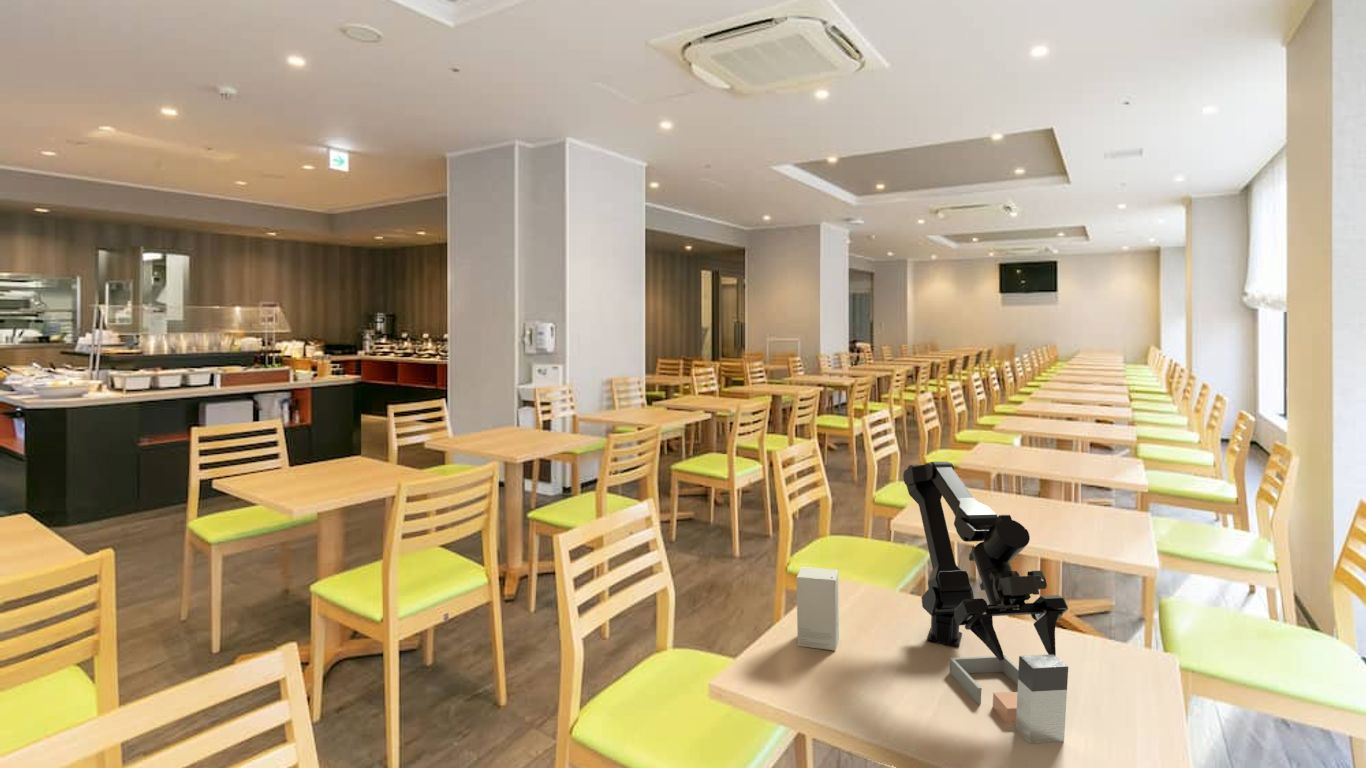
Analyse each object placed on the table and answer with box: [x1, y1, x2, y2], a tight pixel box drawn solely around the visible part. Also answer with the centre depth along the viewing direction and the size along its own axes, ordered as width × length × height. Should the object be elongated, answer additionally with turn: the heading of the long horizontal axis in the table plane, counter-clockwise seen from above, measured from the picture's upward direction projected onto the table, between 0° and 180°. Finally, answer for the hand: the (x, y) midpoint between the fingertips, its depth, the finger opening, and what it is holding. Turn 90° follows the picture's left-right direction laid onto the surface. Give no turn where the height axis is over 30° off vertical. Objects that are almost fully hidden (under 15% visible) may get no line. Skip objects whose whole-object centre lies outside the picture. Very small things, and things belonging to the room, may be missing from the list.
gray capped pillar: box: [1015, 654, 1069, 745], centre depth 116 cm, size 4×6×13 cm, turn 95°
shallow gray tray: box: [949, 654, 1019, 705], centre depth 132 cm, size 11×11×3 cm
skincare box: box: [796, 566, 840, 651], centre depth 148 cm, size 8×7×16 cm
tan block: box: [992, 691, 1018, 724], centre depth 122 cm, size 5×7×3 cm
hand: (1027, 658), depth 120 cm, fingers open, 9 cm apart
